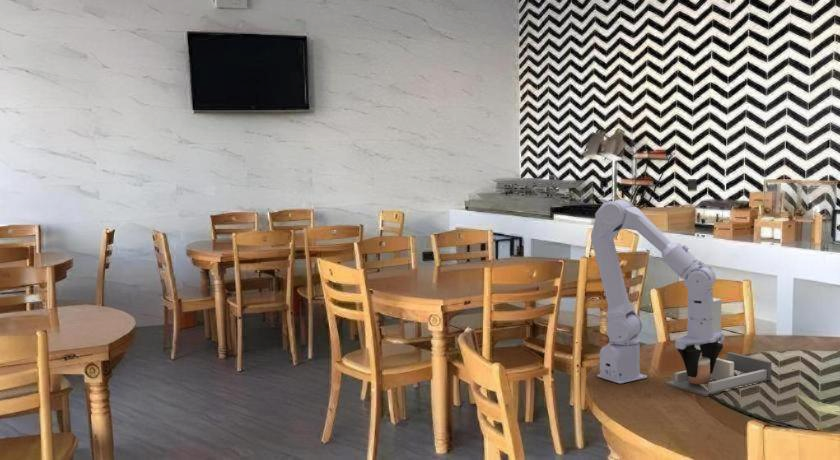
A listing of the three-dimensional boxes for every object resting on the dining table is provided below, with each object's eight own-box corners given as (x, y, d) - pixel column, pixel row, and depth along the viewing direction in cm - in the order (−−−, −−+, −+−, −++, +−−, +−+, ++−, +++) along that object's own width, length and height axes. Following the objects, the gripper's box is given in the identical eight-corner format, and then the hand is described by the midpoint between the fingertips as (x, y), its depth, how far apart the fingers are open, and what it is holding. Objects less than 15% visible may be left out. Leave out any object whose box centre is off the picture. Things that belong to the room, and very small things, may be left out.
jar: (698, 385, 185) (698, 362, 184) (683, 380, 189) (683, 357, 189) (715, 382, 187) (714, 359, 186) (699, 377, 191) (699, 355, 191)
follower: (729, 383, 187) (729, 363, 187) (702, 376, 194) (702, 356, 194) (733, 382, 188) (734, 362, 188) (706, 375, 195) (706, 355, 194)
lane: (706, 396, 180) (706, 377, 180) (665, 384, 191) (665, 365, 190) (772, 379, 192) (772, 361, 192) (730, 369, 202) (731, 351, 202)
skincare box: (702, 347, 226) (702, 295, 224) (722, 351, 221) (722, 298, 220) (686, 352, 220) (686, 299, 219) (705, 356, 216) (706, 302, 214)
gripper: (692, 324, 179) (692, 383, 181) (735, 316, 187) (734, 373, 188) (668, 319, 186) (668, 376, 187) (710, 312, 193) (710, 367, 194)
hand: (699, 374), depth 188 cm, fingers closed on jar, 5 cm apart
